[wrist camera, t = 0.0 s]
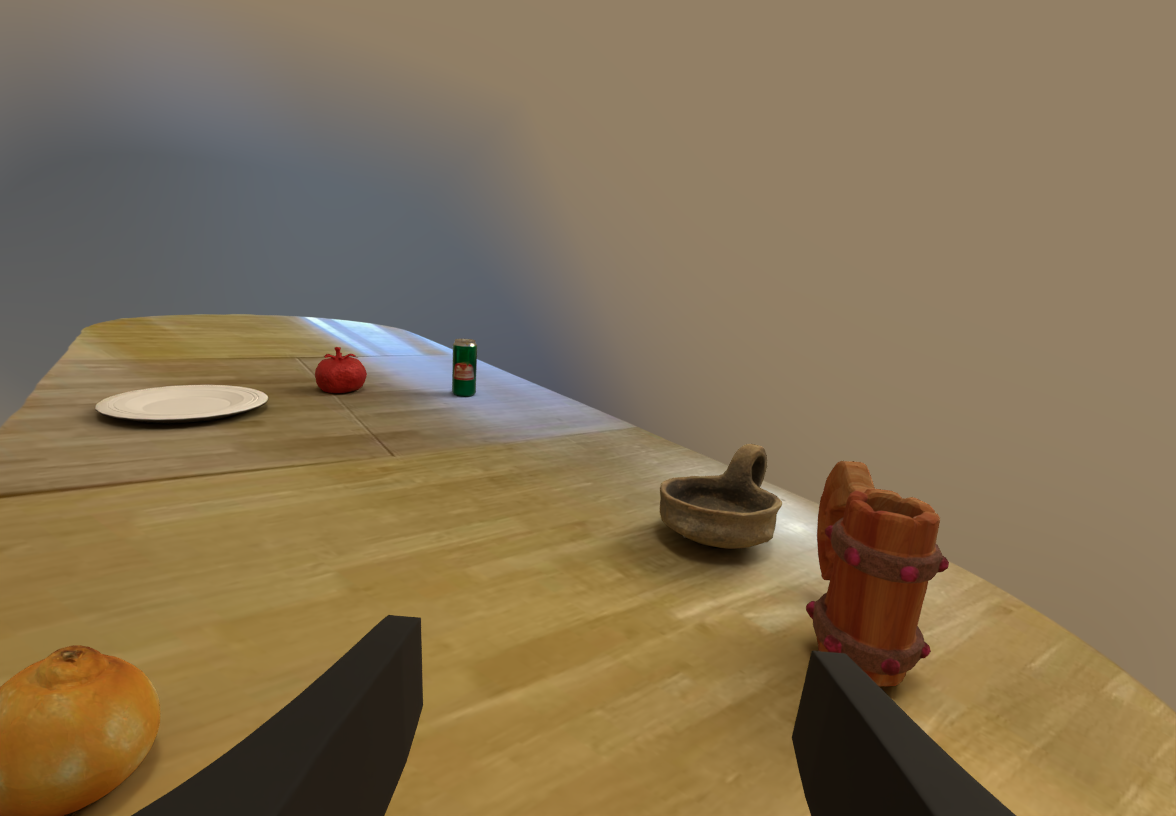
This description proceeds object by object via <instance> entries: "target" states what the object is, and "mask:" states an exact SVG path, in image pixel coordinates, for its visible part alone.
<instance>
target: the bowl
mask: <svg viewBox="0 0 1176 816" xmlns="http://www.w3.org/2000/svg"><path fill="white" fill-rule="evenodd" d="M766 468H767V455H766V452H765V449H764V448H763V447H761V446H758V445H754V444H746V445H744V446H742V447H741V448H740V449H739V450H738V451H737V452H736V453H735V455H734V456H733V458H732V460H731V462H730V464H729V466H728V469H727V470H726V471H725V472H724V474H723V475H719V476H690V477H679V478H672V479H668V480H666V481H664V482H663V483H661V487H660V495H661V500H660V515H661V519H662V521H663V522H664V523H665V524H666V525H667V526H668V527H670V528H671V529H673V530H674V531H676V532H677V533H679V534H681V535H683V537H684V538H689V539H691V540H693V541H695V542H697V543H700V544H704V545H708V546H714V547H720V548H727V549H737V548H746V547H751V546H755V545H758V544H761V543H764V542H768V541H769V540H771V539H772V538H773V533H774V530H775V524H776V514H777V512H778V510H779V509H780V507H781V505H782V501H780V499H779V498H778V497H777V496H776V495H774V494H772V493H769V492H768V491H766V490H764V489H761V488H760V486H761V484H762V482H763V479H764V475H765V472H766Z"/></svg>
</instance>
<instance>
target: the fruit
mask: <svg viewBox="0 0 1176 816" xmlns="http://www.w3.org/2000/svg"><path fill="white" fill-rule="evenodd" d="M159 723H160V704H159V699H158V695H157V692H156V690H155V687H154V686H153V684H152V683H151V682H150V680H149V679H148V678H147V676H146V675H145V674H144V673H143V672H142V671H141V670H139V669H138V668H137V667H135V666H134V665H132V664H130V663H128V662H126V661H124V660H122V659H119V658H117V657H114V656H108V655H104V654H101V653H100V652H98V651H97V650H94V649H92V648H90V647H85V646H69V647H65V648H62V649H59V650H57V651H55V652H53V653H52V654H51V655H49V656H48V657H47V658H46V659H44V660H41V661H39V662H36V663H34V664H32V665H30V666H28V667H27V668H25V669H24V670H22V671H20V672H19V673H17V674H16V675H15V676H13V677H12V678H11V679H10V680H8V681H7V682H6V683H5V684H3V685H2V686H1V687H0V816H64V815H67V814H70V813H72V812H75V811H77V810H80V809H81V808H83V807H85V806H87V805H89V804H91V803H93V802H95V801H97V800H99V799H100V798H102V797H103V796H105V795H106V794H108V793H109V792H111V791H112V790H113V789H115V788H116V787H117V786H118V785H120V784H121V783H122V782H123V781H124V780H125V779H126V778H128V777H129V776H130V775H131V774H132V773H133V772H134V771H135V769H136V768H137V767H138V766H139V765H140V763H141V762H142V761H143V760H144V758H145V757H146V755H147V754H148V752H149V751H150V749H151V747H152V745H153V742H154V740H155V737H156V735H157V732H158V728H159Z"/></svg>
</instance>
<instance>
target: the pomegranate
mask: <svg viewBox="0 0 1176 816" xmlns="http://www.w3.org/2000/svg"><path fill="white" fill-rule="evenodd" d="M340 349H341V348H340V347H335V350H336V356H333V355H330V354H326V355H325V356H324V357H325V358H326V357H331V358H329V359H324V360H322V361H321V362H320V363H319V364H318V366H317V368H316V371H315V378H316V383H317V385H318V387H319V388H320V389H321V390H323V391H324V392H328V393H347V392H351V391H355V390H358V389H359V388H361V387H362V386H363V384H364V382H365V379H366V375H367V373H366V370H365V367H364V366H363V365H362V363H361V362H360V361H359V360H357V359H355V358H351V357H349V356H353V357H355V356H356V355H353V354H348V355H346V356H343V357H342V353H340ZM356 358H357V357H356Z"/></svg>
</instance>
